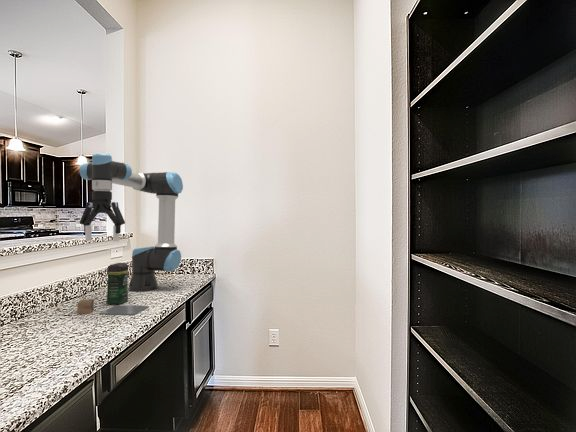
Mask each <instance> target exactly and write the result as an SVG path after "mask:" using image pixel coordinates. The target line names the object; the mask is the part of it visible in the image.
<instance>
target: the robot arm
mask: <svg viewBox="0 0 576 432" xmlns="http://www.w3.org/2000/svg"><path fill="white" fill-rule="evenodd" d="M79 175H80V177H81V178H82V179H83V180H85V181H87V180H88V181H91V190H93V191H91V199H92V201H93V202H90V201H89V202H86V203H85V209H84V210H83V213H82V214H81V215H82V216H81V218H80V220H79V224H80V225H82V226H83V232H84V234H85V235H84V238H85V240H84V241H85V242H90V241H92V239H93V237H92V230H93V229H92V227H93V225H91V224H92V222H93V221H94V220H95V218H96V217H97V215H98V214H100V213H101V214H106V215H107V216H108V218H109V219H110V220H111V221H112V223H113V224H114V225H113V226H112V227H113V229H112V231H113V232H112V234H113V235H112V237H113V239H112V240H113V242H114V243H115V242H120V234H121V231H122V230H121V229H122V228H121V226H122V225H125V224H126V222H125V219H124V217H123V214H122V212H121V209H120V208H119V203H118V202H116V201H113V202H112V200H113V192H112V191H113V184H114V185H120V186H124V187H128V188H132V189H133V190H134V191H139V192H144V193H147V194H155V196H156V198H157V199H158V227H157V228H158V229H157V243H156V245H154V246H146V247H138V248H134V249H133V250H132V253H131V262H132V263H131V266H132V267H131V269H132V270H131V272H132V273H131V278H130V281H129V283H128V291H131V292H146V291H147V292H149V291H153V290H157V289H158V288H159V283H158V280H157V277H156V275H155V272H156V271H159V272H163V271H164V272H173V271H176V270H177V269H178V268H179V266H180V264H181V261H182V253H181V251H180V249H178V245H177V244H176V243H175V233H176V232H175V230H176V229H175V227H176V226H175V225H176V221H175V220H176V201H177V199H178V198H179V194H181V193H182V192H183V191H184V190H183V189H184V184H183V180H182V178H181V176H180V175H179V174H178V173H177V172H171V171H170V172H169V171H165V172H146V173H144V172H143V173H142V172H133V170H132V167H131V165H130V164H128V163H125V162H120V161H114V160H113V157H112V155H110V154H107V153H94V154H92V158H91V162H87V163H83V164H81V165H80V166H79Z"/></svg>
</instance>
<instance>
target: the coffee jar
mask: <svg viewBox="0 0 576 432" xmlns="http://www.w3.org/2000/svg"><path fill="white" fill-rule="evenodd" d="M106 270H107V271H106V272H107V273H106V274H107V289H106V290H107V292H106V294H107V295H106V303H107V304H108V305H113V306H116V305H121V304H124V303H127V301H128V300H129V292H128V291H129V282H128V278H129V277H128V274H129V265H128V263H126V262H116V263H113V264H110V265H108V266H107V269H106Z"/></svg>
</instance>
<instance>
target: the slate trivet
mask: <svg viewBox="0 0 576 432" xmlns="http://www.w3.org/2000/svg"><path fill="white" fill-rule="evenodd" d="M149 307H150V306H149V305H121V304H115V305H113V306H112V307H109V308H108V309H105V310H103V311H100V312H99V314H105V315H106V316H107V315H109V316H136V315H139V313H141V312H143V311H145V310H147V309H149Z"/></svg>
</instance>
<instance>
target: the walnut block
mask: <svg viewBox="0 0 576 432" xmlns="http://www.w3.org/2000/svg"><path fill="white" fill-rule="evenodd" d="M76 309H77V310H76V311H77V312H76V313H77V315H78V316H79V315H90V313H91V314H93V312H94V311H95V310H94V309H95V301H94V298H93V299H92V298H91V299H80V300H79V301H77V308H76Z"/></svg>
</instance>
